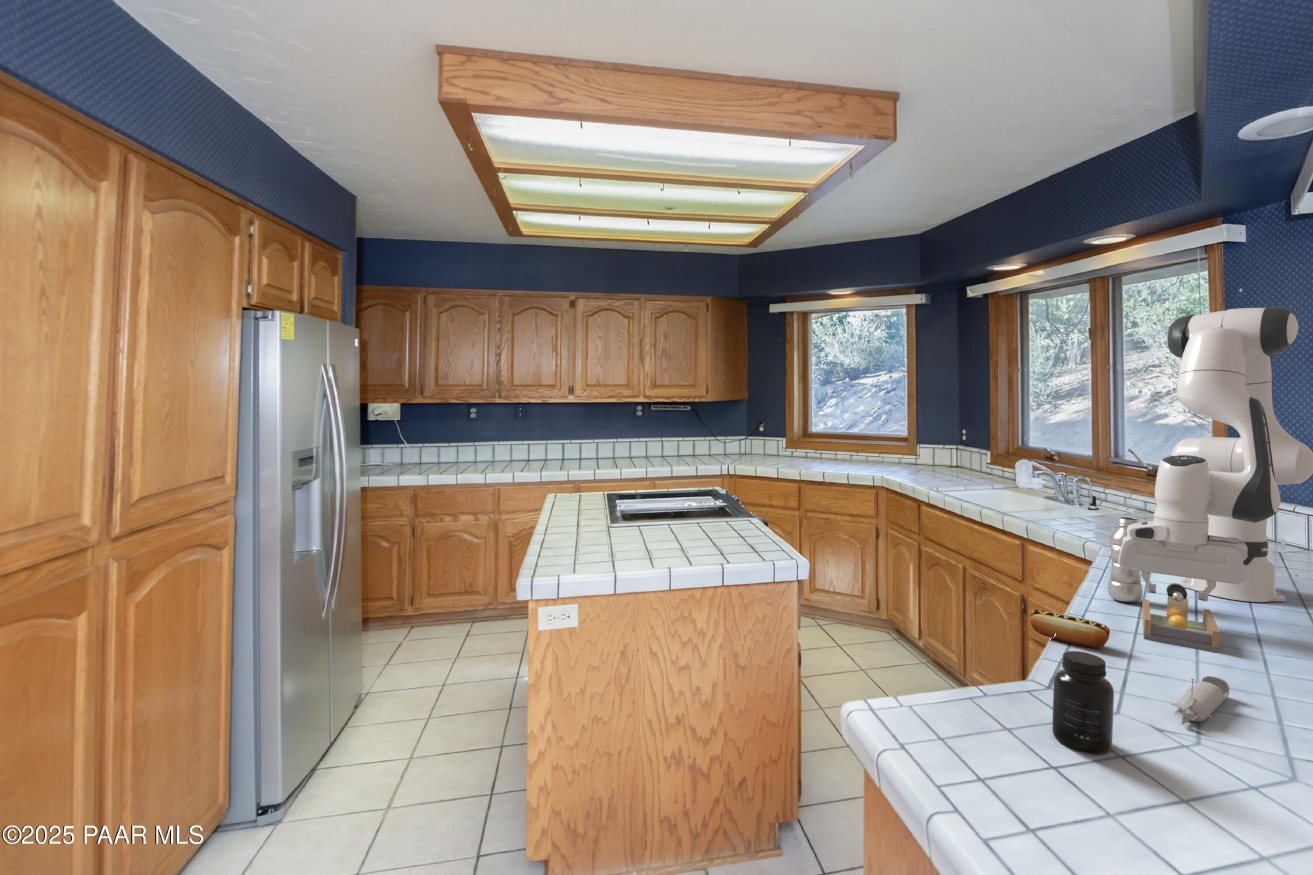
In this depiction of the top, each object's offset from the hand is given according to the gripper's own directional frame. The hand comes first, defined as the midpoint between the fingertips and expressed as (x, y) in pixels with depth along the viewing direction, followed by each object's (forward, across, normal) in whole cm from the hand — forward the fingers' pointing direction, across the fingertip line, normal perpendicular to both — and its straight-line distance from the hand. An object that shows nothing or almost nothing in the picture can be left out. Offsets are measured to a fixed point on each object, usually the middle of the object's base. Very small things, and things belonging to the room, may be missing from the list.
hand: (1176, 596), depth 127 cm
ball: (+4, 0, +8) cm, 8 cm away
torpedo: (+6, 0, +45) cm, 46 cm away
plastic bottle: (+6, +8, -12) cm, 16 cm away
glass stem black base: (+4, 0, +2) cm, 5 cm away
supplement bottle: (+6, +14, +68) cm, 69 cm away
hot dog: (+6, +18, +26) cm, 32 cm away
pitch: (+6, 0, +6) cm, 9 cm away
